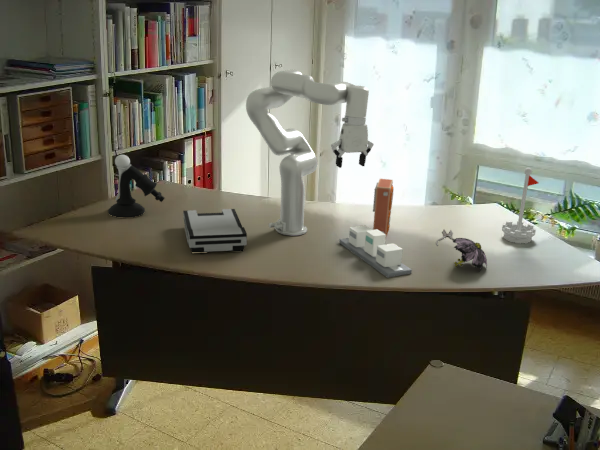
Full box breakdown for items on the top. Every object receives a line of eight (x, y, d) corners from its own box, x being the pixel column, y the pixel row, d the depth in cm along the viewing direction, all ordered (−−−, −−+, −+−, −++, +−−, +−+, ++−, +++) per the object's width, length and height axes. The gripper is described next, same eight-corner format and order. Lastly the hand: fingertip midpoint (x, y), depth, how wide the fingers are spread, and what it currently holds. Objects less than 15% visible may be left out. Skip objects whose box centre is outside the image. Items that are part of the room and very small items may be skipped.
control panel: (390, 228, 288) (387, 240, 274) (373, 226, 289) (369, 238, 276) (394, 178, 281) (391, 189, 267) (377, 177, 282) (373, 187, 268)
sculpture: (111, 206, 300) (108, 149, 291) (166, 207, 302) (165, 151, 293) (105, 217, 286) (101, 159, 277) (163, 218, 288) (161, 160, 279)
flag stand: (495, 238, 283) (505, 167, 272) (510, 230, 292) (520, 161, 282) (524, 247, 274) (537, 174, 264) (539, 239, 284) (551, 168, 273)
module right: (383, 267, 244) (385, 251, 242) (375, 261, 249) (376, 245, 247) (401, 264, 247) (402, 249, 245) (392, 258, 252) (393, 243, 250)
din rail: (394, 271, 242) (395, 270, 242) (347, 238, 271) (347, 237, 270) (403, 270, 243) (403, 269, 243) (355, 237, 272) (355, 236, 272)
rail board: (387, 277, 241) (387, 273, 240) (339, 242, 270) (339, 239, 270) (411, 273, 245) (411, 269, 244) (361, 239, 274) (361, 236, 274)
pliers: (437, 246, 270) (428, 228, 289) (437, 248, 270) (427, 230, 289) (462, 247, 270) (451, 229, 289) (462, 249, 270) (450, 231, 289)
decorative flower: (492, 253, 240) (454, 232, 245) (476, 282, 243) (439, 261, 248) (497, 250, 254) (461, 231, 259) (482, 278, 256) (446, 258, 261)
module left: (355, 247, 261) (356, 232, 259) (347, 242, 266) (348, 227, 264) (372, 245, 264) (373, 230, 262) (364, 239, 269) (365, 225, 267)
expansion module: (371, 256, 253) (373, 236, 251) (363, 250, 258) (365, 230, 256) (384, 254, 256) (385, 234, 253) (375, 249, 261) (377, 229, 258)
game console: (234, 224, 285) (234, 206, 282) (246, 254, 256) (246, 233, 253) (183, 226, 280) (183, 207, 278) (189, 257, 251) (189, 236, 248)
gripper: (338, 123, 244) (334, 170, 250) (380, 122, 251) (375, 167, 257) (329, 118, 250) (325, 164, 256) (370, 117, 257) (365, 161, 263)
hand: (350, 166), depth 257 cm, fingers open, 9 cm apart
